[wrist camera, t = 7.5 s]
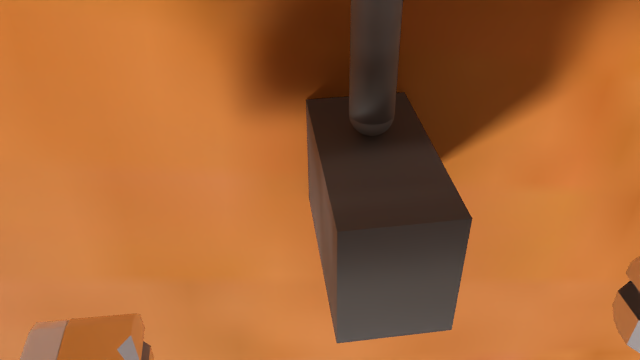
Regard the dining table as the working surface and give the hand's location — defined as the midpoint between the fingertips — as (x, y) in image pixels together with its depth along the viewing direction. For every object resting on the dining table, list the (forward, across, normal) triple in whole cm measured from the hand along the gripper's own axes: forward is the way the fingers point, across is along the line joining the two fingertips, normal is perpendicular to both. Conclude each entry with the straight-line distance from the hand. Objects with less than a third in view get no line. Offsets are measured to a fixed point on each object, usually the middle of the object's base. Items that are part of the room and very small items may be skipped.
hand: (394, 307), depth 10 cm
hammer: (+4, 0, -6) cm, 7 cm away
